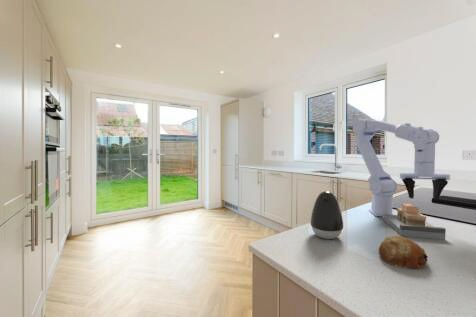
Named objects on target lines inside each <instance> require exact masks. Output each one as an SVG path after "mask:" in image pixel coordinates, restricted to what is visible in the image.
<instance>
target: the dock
mask: <svg viewBox="0 0 476 317" xmlns="http://www.w3.org/2000/svg"><path fill="white" fill-rule="evenodd" d="M382 220H383V221H385V223H386V224H388V226H390V227H391V228H392V229H393V230H394V231H395V232H397V233H398V235H399V236H402V237H409V238H410V237H412V238H424V239H432V240H433V239H434V240H445V241H446V233H447V232H446V231H447V230H446V227H440V226H439V227H438V226H434V225H432V224H431V223H429V222H427V220H426V221H425V226H416V225H405V223H403V222H402V221H401V220H399V219H398V218H397V214H394V215H388V214H383V216H382Z"/></svg>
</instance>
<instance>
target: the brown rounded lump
mask: <svg viewBox="0 0 476 317" xmlns="http://www.w3.org/2000/svg"><path fill="white" fill-rule="evenodd" d="M378 255H379V257H380V258H381V259H382V261H384V262H385V261H386V263H387V262H389V263H388V264H390V263H391V264H390V265H392V264H394V265H393V266H395V265H397V266H396V267H398V266H401V267H400V268H404V267H405V268H404V269H409V268H411V269H410V270H419V268H421V269H423V268H424V267H426V265H427V262H428V261H429V260H428V258H429V256H428V255H427V253H426V250H425V249H424V248H423V247H421V246H420V245H419V244H418V243H416V242H415V241H413V240H412V239H409V238H407V237H405V236H401V235H400V234H398V235H396V234H395V235H394V234H393V235H390V236H388V237H385V238H384V239H383V240H382V241H381V243H380V244H379V247H378Z"/></svg>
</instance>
